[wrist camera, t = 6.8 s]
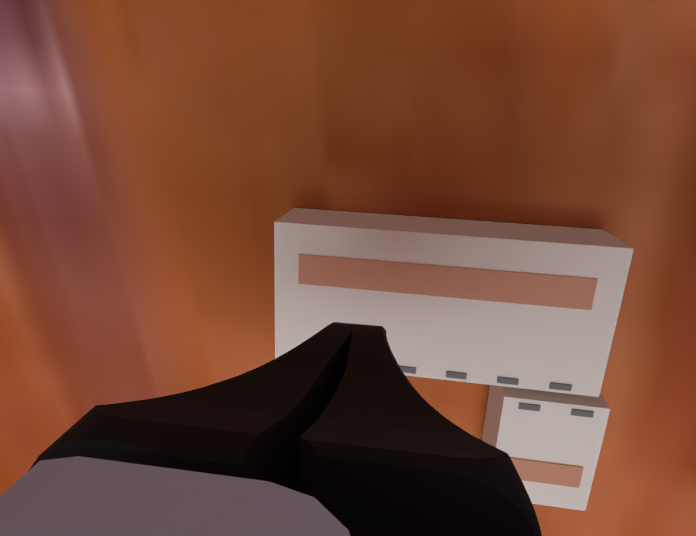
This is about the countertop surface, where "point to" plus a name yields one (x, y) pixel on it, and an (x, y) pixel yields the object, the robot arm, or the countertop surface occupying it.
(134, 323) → the countertop surface
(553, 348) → the white striped box
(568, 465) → the stub
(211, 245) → the countertop surface
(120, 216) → the countertop surface
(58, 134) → the countertop surface
